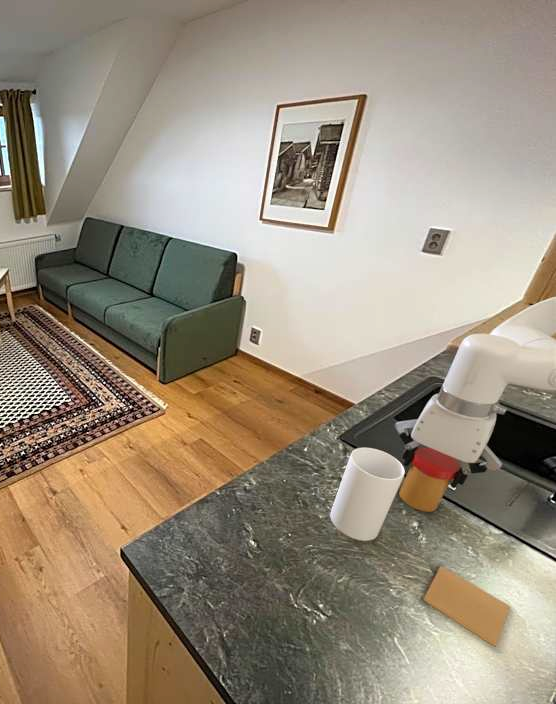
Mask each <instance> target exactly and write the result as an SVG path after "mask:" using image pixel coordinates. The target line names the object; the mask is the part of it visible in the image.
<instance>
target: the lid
mask: <svg viewBox="0 0 556 704" xmlns="http://www.w3.org/2000/svg"><path fill="white" fill-rule="evenodd" d="M411 460H412V462H411V464H412V463H413V465H414V466H415V467H416V468H417V469H418V470H419V471H421V472H422V473H424V474H426V475H428V476H430V477H433V478H436V479H441V480H451V479H452V480H454V478H455V476H456V474H457V472H458V471H459V469H460V467H461V464H460V462H459V461H458V459H456V458H453V457H451V456H448V455H446V454H444V453H441V452H439V451H436V450H434V449H432V448H429V447H418V449H417V450H416V451H415V452H414V455H413V456H412V459H411ZM452 480H451V481H452Z"/></svg>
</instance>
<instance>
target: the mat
mask: <svg viewBox="0 0 556 704" xmlns="http://www.w3.org/2000/svg"><path fill="white" fill-rule="evenodd" d="M422 601H423V602H425V603H427V604H428V605H429V606H431V607H432V608H434V609H436V610H437V611H439V612H440V613H441V614H443V615H445V616H446V617H447V618H450V619H451V620H452V621H454V622H456V623H457V624H459V625H461V626H462V627H463V628H465V629H467V630H469V631H470V632H471V633H473V634H474V635H476V636H478V637H479V638H480V639H482V640H484V642H487V643H488V644H490V645H491V646H493V647H494V648H496V647H497V645H498V642H499V640H500V636H501V634H502V631H503V628H504V625H505V622H506V619H507V616H508V613H509V611H510V608H511V605H509V604H507V603H506V602H504V601H502V600H500V599H499V598H497V597H496V596H493V595H492V594H490V593H488V592H487V591H485V590H484V589H482V588H480V587H478V586H476V585H474V584H473V583H471V582H469V581H468V580H466V579H464V578H463V577H461V576H459V575H458V574H456V573H454V572H452V571H450V570H449V569H448V568H445V567H443V566H442V565H440V567H439V568H438V569H437V572H436V574H435V576H434V578H433V579H432V581H431V583H430V585H429V587H428V589H427V591H426V592H425V594H424V597H423V599H422Z"/></svg>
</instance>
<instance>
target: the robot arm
mask: <svg viewBox="0 0 556 704" xmlns="http://www.w3.org/2000/svg"><path fill="white" fill-rule="evenodd" d="M554 335H556V296H552V297H549V298H546V299H544V300H541V301H538V302H537V303H534V304H532V305H530V306H528V307H526V308H525V309H523V310H521V311H520V312H518V313H517V314H514V315H513V316H511V317H510V318H508V319H506V320H504V321H503V322H501V323H500V324H499V325H497V326H496V327H494V329H492V330H491V331H490V332H489V333H472V334H470V335H467V336H466V337H464V338H463V340H462V341H461V343H460V345H459V347H458V349H457V352H456V354H455V356H454V358H453V360H452V363H451V365H450V368H449V370H448V372H447V374H446V376H445V379H444V381H443V383H442V386H441V388H440V390H439V392H438V393H435V394H434V395H432V396H431V398H430V399H429V400H428V401H427V403H426V404H425V406H424V408H423V410H422V411H421V413H420V415H419V416H418V418H416V419H408V420H401V421H396V423H395V424H394V428H395V430H396V431H397V433H398V434H399V438H400V440H401V441H402V442H403V444H404V448H405V451H404V453H403V456H402V459H403V460H404V462H403V467H409V465H411V464H412V460H411V459H412V456H413V455H414V452H415V451H416V450H417V449H419V446H421V445H423V446H425V447H426V448H432V449H434V450H436V451H439V452H441V453H444V454H446V455H448V456H451V457H453V458H454V459H456V460H457V461H458V462H459V464H460V469H459V471H458V472H457V474H456V476H455V478H454V479H452V481H451V483H450V487H451V489H456V487H457V486H458V485H461V486H464V484H465V481H466V480H467V479H468V476H471V475H472V474H481V473H486V472H491V471H496V470H500V469H501V468H502V466H503V462H502V461H501V460H500V459H499V458H498V456H497V455H496V454H495V453H494V452H493V451H492V450H491V448H490V447H489V446H488V443H489V440H490V438H491V436H492V434H493V432H494V429H495V425H496V421H497V414H500V415H503V416H504V415H505V414H506V412H507V410H508V407H505V406H503V405H502V404H500V402H499V400H500V399H501V396H502V395H503V392H504V391H505V389H506V387H507V386H508V385H514V386H520V387H525V388H530V389H535V390H541V391H550V392H551V391H553V392H556V338H554V337H552V336H554ZM408 429H412V431H411V433H410V431H408ZM480 456H482V457H483V459H484V460H485V461H481V462H477V461H478V460H479V458H480Z"/></svg>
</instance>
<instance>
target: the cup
mask: <svg viewBox="0 0 556 704" xmlns="http://www.w3.org/2000/svg"><path fill="white" fill-rule="evenodd" d="M405 473H406V472H405V466H404V464H402V463H401V462H400V461H399V460H398V459H397V458H396V457H395V456H392V455H391V454H389V453H387V452H386V451H383V450H379V449H377V448H372V447H357V448H355V449H353V450H352V451H351V453H350V455H349V458H348V460H347V463H346V466H345V469H344V472H343V475H342V478H341V481H340V484H339V487H338V489H337V493H336V496H335V498H334V501H333V504H332V507H331V510H330V514H329V518H330V521H331V522H332V525H334V527H335V528H336V529H337V530H338V531H339V532H341V533H342V534H343V535H345V536H347V537H349V538H351V539H353V540H357V541H364V542H368V541H369V542H370V541H373V540H374V539H376V538H377V537H378V535H379V534H380V531H381V529H382V526H383V524H384V522H385V519H386V517H387V515H388V513H389V511H390V509H391V506H392V503H393V502H394V499H395V497H396V496H397V495H396V494H397V492H398V490H399V489H400V487H401V486H400V485H402V481H403V480H404V476H405Z"/></svg>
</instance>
